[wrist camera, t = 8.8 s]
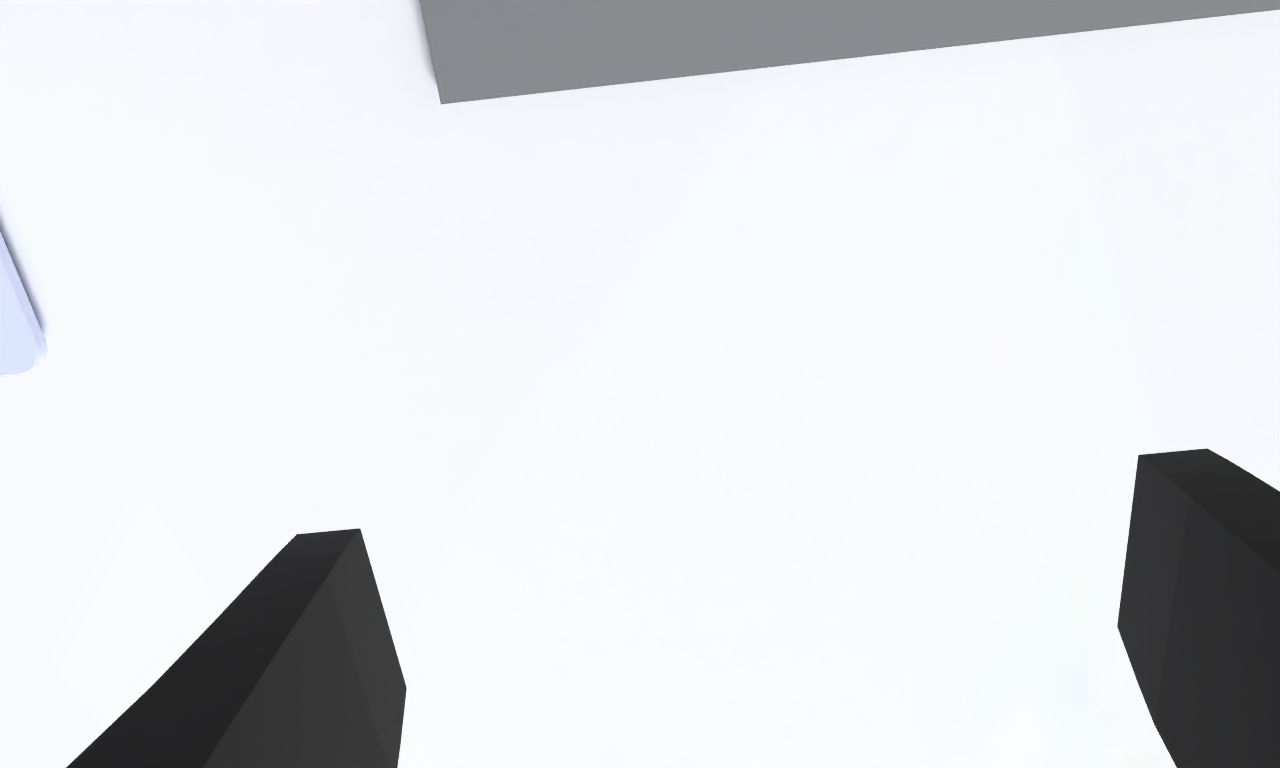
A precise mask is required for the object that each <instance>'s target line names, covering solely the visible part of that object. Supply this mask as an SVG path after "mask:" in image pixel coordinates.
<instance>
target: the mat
mask: <svg viewBox="0 0 1280 768" xmlns="http://www.w3.org/2000/svg"><path fill="white" fill-rule="evenodd" d="M420 2H421V7H422V12H423V17H424V22H425V27H426V32H427V37H428V42H429V47H430V52H431V57H432V62H433V67H434V72H435V77H436V82H437V87H438V92H439V97H440V102H441V104H447V103H456V102H465V101H474V100H482V99H491V98H500V97H509V96H518V95H527V94H536V93H544V92H553V91H562V90H571V89H580V88H589V87H598V86H606V85H615V84H624V83H633V82H642V81H651V80H659V79H668V78H677V77H686V76H695V75H704V74H713V73H721V72H730V71H739V70H748V69H757V68H766V67H775V66H783V65H792V64H801V63H810V62H819V61H828V60H837V59H845V58H854V57H863V56H872V55H881V54H890V53H898V52H907V51H916V50H925V49H934V48H943V47H952V46H960V45H969V44H978V43H987V42H996V41H1005V40H1014V39H1022V38H1031V37H1040V36H1049V35H1058V34H1067V33H1076V32H1084V31H1093V30H1102V29H1111V28H1120V27H1129V26H1137V25H1146V24H1155V23H1164V22H1173V21H1182V20H1191V19H1199V18H1208V17H1217V16H1226V15H1235V14H1244V13H1253V12H1261V11H1270V10H1279V9H1280V0H420Z"/></svg>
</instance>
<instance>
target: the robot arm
mask: <svg viewBox="0 0 1280 768" xmlns="http://www.w3.org/2000/svg"><path fill="white" fill-rule="evenodd" d="M46 352H47V345H46V340H45V338H44V335H43V333H42V330H41V328H40V326H39V323H38V321H37V318H36V316H35V314H34V311H33V309H32V306H31V304H30V302H29V299H28V297H27V294H26V292H25V290H24V287H23V285H22V282H21V280H20V278H19V275H18V273H17V270H16V268H15V266H14V263H13V261H12V258H11V256H10V254H9V251H8V249H7V246H6V244H5V242H4V239H3V237H2V235H1V232H0V377H4V376H13V375H22V374H25V373H29V372H31V371H32V370H34V369H35V368H36V367H37V366H38V365H39V364H40V362H41V361H42V360H43V359H44V358H45V355H46ZM1118 629H1119V632H1120V635H1121V637H1122V640H1123V643H1124V646H1125V649H1126V651H1127V654H1128V657H1129V660H1130V662H1131V665H1132V668H1133V671H1134V673H1135V676H1136V679H1137V682H1138V684H1139V687H1140V689H1141V692H1142V694H1143V697H1144V699H1145V702H1146V704H1147V707H1148V709H1149V712H1150V714H1151V717H1152V720H1153V722H1154V725H1155V726H1156V728H1157V730H1158V732H1159V734H1160V736H1161V738H1162V740H1163V742H1164V744H1165V746H1166V748H1167V750H1168V752H1169V753H1170V755H1171V757H1172V759H1173V761H1174V763H1175V765H1176V767H1177V768H1280V491H1278V490H1276V489H1275V488H1273V487H1271V486H1270V485H1268V484H1267V483H1265V482H1263V481H1262V480H1260V479H1259V478H1257V477H1255V476H1254V475H1252V474H1250V473H1249V472H1247V471H1245V470H1244V469H1242V468H1241V467H1239V466H1237V465H1235V464H1234V463H1232V462H1230V461H1229V460H1227V459H1225V458H1223V457H1222V456H1220V455H1218V454H1216V453H1214V452H1212V451H1211V450H1209V449H1198V450H1187V451H1177V452H1166V453H1155V454H1145V455H1138V464H1137V472H1136V480H1135V488H1134V496H1133V504H1132V512H1131V520H1130V528H1129V536H1128V545H1127V553H1126V561H1125V569H1124V577H1123V585H1122V593H1121V601H1120V609H1119V618H1118ZM405 697H406V685H405V681H404V678H403V674H402V671H401V667H400V664H399V660H398V657H397V654H396V650H395V647H394V643H393V640H392V636H391V633H390V629H389V626H388V623H387V619H386V616H385V612H384V609H383V605H382V602H381V598H380V595H379V592H378V588H377V585H376V581H375V578H374V574H373V571H372V567H371V564H370V561H369V557H368V554H367V550H366V547H365V543H364V540H363V536H362V533H361V530H360V529H349V530H339V531H328V532H317V533H307V534H297V535H296V536H295V537H294V538H293V539H292V540H291V541H290V542H289V543H288V544H287V545H286V546H285V547H284V548H283V549H282V550H281V551H280V552H279V553H278V554H277V555H276V556H275V557H274V558H273V559H272V560H271V561H270V562H269V563H268V564H267V565H266V567H265V568H264V569H263V570H262V571H261V572H260V573H259V574H258V575H257V576H256V577H255V578H254V579H253V580H252V581H251V583H250V584H249V585H248V586H247V587H246V588H245V589H244V590H243V591H242V592H241V593H240V594H239V595H238V596H237V598H236V599H235V600H234V601H233V602H232V603H231V604H230V605H229V606H228V607H227V608H226V609H225V610H224V611H223V613H222V614H221V615H220V616H219V617H218V618H217V619H216V620H215V621H214V622H213V623H212V624H211V625H210V626H209V627H208V628H207V629H206V630H205V631H204V633H203V634H202V635H201V636H200V637H199V638H198V639H197V640H196V641H195V642H194V643H193V644H192V645H191V646H190V647H189V648H188V649H187V650H186V651H185V652H184V653H183V654H182V655H181V656H180V657H179V659H178V660H177V661H176V662H175V663H174V664H173V665H172V666H171V667H170V668H169V669H168V670H167V671H166V672H165V673H164V674H163V675H162V676H161V677H160V678H159V679H158V680H157V681H156V682H155V683H154V684H153V685H152V686H151V687H150V688H149V689H148V690H147V691H146V692H145V693H144V694H143V695H142V696H141V697H140V698H139V699H138V700H137V701H136V702H135V703H134V704H133V705H132V706H130V707H129V708H128V709H127V710H126V711H125V712H124V713H123V714H122V715H121V716H120V717H119V718H118V719H117V720H116V721H115V722H114V723H113V724H112V725H111V726H109V727H108V728H107V729H106V730H105V731H104V732H103V733H102V734H101V735H100V736H99V737H98V738H97V739H96V740H95V741H94V742H93V743H92V744H91V745H90V746H89V747H87V748H86V749H85V750H84V751H83V752H82V753H81V754H80V755H79V756H78V757H77V758H76V759H75V760H74V761H73V762H72V763H71V764H70V765H69V766H68V767H66V768H397V766H398V758H399V751H400V743H401V734H402V725H403V716H404V706H405Z"/></svg>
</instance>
